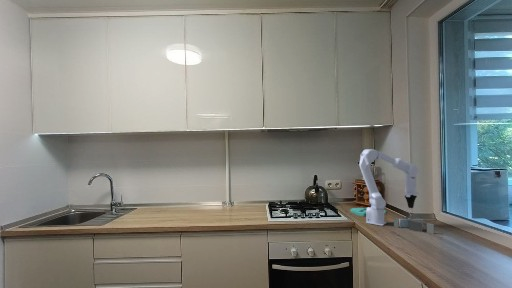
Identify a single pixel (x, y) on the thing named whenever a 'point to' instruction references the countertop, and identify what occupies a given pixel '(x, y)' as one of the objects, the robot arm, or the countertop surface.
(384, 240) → the countertop surface
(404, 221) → the pale blue stick
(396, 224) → the grey long flat piece
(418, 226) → the block
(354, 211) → the teal pixel art cutout
